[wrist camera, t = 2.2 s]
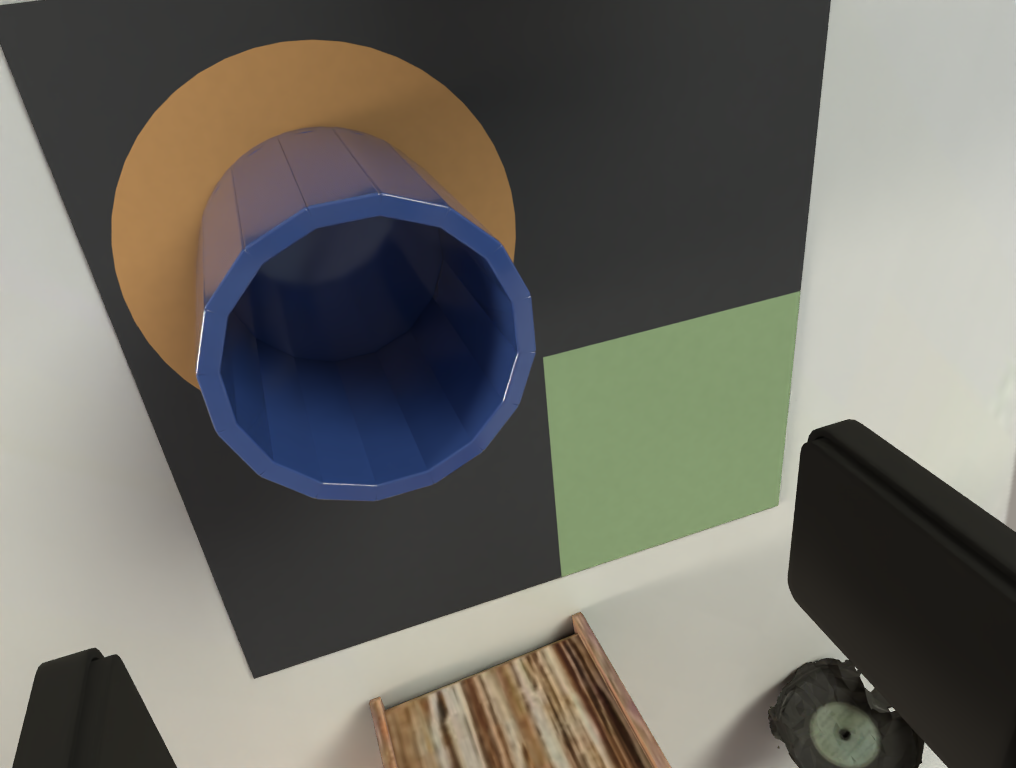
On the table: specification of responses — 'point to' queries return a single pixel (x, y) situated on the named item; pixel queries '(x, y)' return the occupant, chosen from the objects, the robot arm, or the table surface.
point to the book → (524, 716)
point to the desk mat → (510, 219)
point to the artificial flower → (841, 721)
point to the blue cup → (353, 319)
